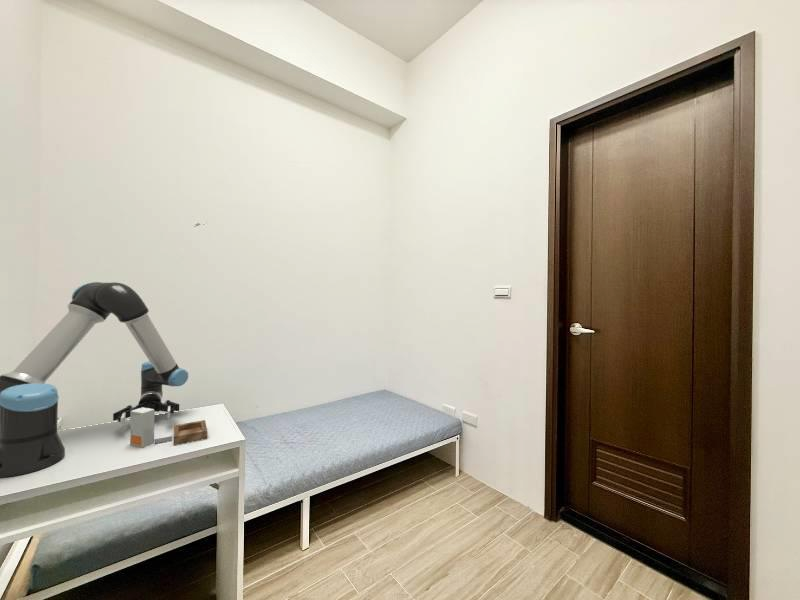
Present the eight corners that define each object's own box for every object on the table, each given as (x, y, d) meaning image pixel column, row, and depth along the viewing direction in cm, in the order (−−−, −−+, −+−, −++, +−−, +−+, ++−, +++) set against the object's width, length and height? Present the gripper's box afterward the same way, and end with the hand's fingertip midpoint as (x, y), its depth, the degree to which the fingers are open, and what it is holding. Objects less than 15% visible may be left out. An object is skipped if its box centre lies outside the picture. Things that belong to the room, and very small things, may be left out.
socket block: (173, 445, 111) (173, 436, 111) (174, 433, 121) (174, 425, 121) (207, 438, 117) (207, 430, 117) (204, 427, 127) (205, 419, 127)
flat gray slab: (154, 444, 112) (154, 443, 112) (155, 440, 115) (155, 439, 115) (171, 441, 115) (171, 440, 115) (172, 436, 118) (172, 436, 118)
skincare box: (129, 445, 111) (129, 410, 111) (142, 440, 115) (142, 406, 115) (142, 448, 109) (142, 412, 109) (154, 442, 113) (155, 408, 113)
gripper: (185, 406, 143) (186, 421, 126) (110, 417, 129) (100, 436, 112) (185, 389, 143) (186, 402, 126) (110, 398, 129) (100, 414, 112)
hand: (146, 418), depth 119 cm, fingers open, 13 cm apart
